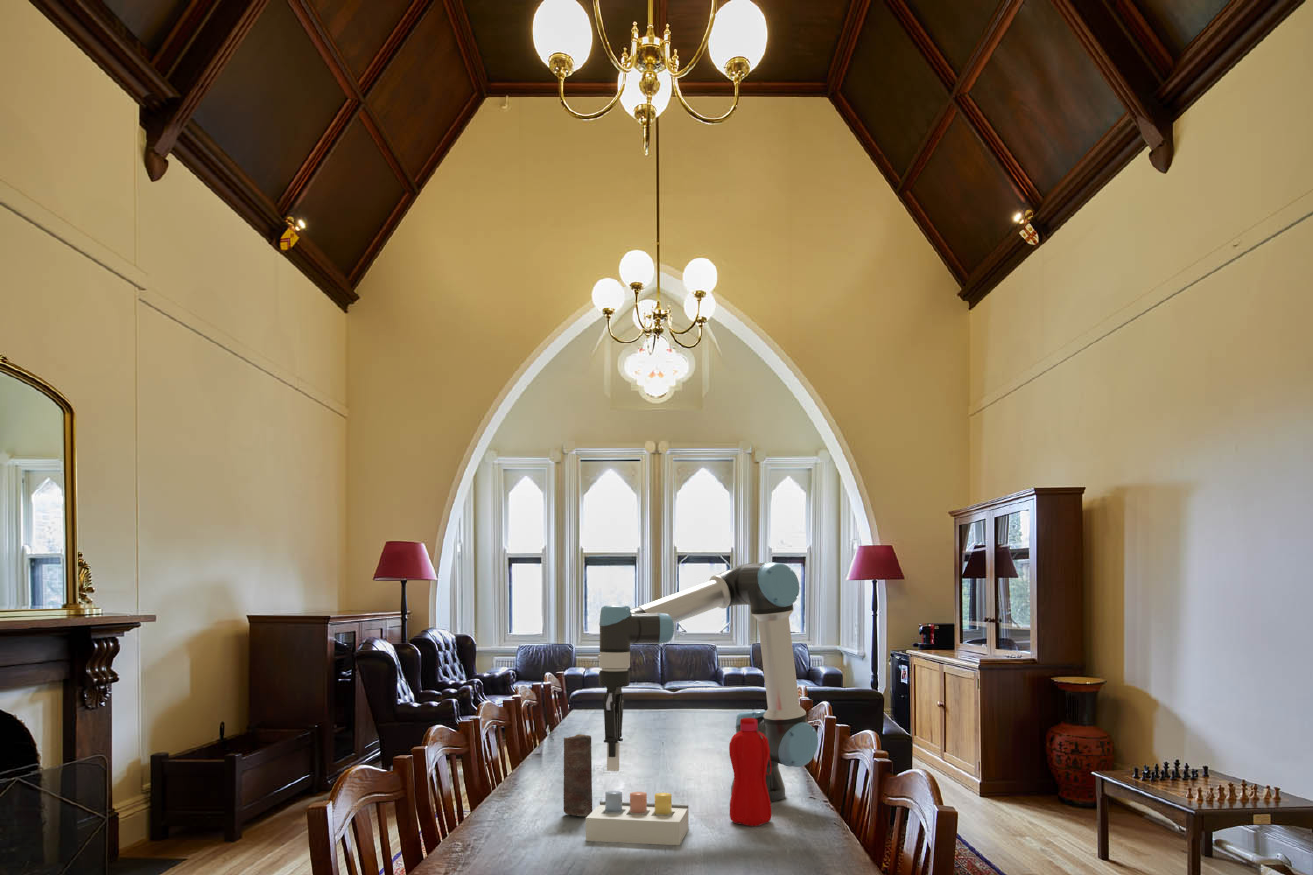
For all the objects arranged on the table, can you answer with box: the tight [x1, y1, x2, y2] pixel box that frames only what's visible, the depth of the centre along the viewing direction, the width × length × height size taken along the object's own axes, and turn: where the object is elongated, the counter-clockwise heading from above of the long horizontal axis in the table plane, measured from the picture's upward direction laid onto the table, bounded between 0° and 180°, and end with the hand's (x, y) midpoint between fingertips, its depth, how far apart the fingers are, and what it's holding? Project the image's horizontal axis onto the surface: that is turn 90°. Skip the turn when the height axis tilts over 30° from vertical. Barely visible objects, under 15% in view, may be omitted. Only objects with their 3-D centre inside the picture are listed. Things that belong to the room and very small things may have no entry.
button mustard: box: [654, 792, 673, 814], centre depth 217 cm, size 4×4×4 cm
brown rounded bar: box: [563, 734, 593, 818], centre depth 236 cm, size 8×7×20 cm
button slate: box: [604, 790, 623, 812], centre depth 219 cm, size 4×4×4 cm
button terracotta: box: [629, 791, 648, 813], centre depth 218 cm, size 4×4×4 cm
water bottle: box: [728, 718, 773, 827], centre depth 230 cm, size 9×11×25 cm
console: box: [585, 800, 690, 846], centre depth 217 cm, size 22×14×6 cm, turn 80°
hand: (613, 770), depth 220 cm, fingers closed
